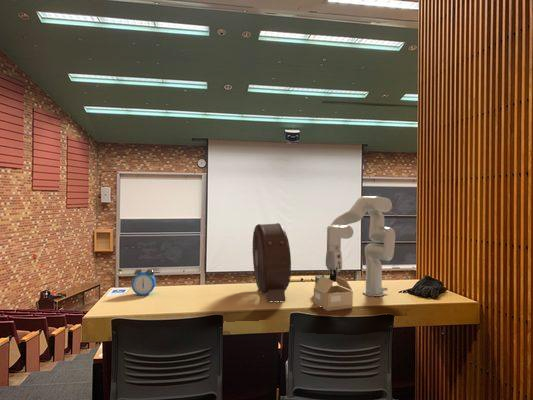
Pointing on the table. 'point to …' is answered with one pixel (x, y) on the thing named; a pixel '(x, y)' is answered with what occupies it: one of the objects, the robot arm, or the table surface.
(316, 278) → the chalk box
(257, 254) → the fan
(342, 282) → the flap
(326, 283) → the flap
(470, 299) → the table surface
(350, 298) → the carton
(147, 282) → the alarm clock
